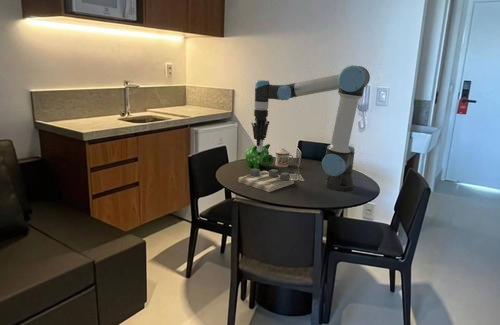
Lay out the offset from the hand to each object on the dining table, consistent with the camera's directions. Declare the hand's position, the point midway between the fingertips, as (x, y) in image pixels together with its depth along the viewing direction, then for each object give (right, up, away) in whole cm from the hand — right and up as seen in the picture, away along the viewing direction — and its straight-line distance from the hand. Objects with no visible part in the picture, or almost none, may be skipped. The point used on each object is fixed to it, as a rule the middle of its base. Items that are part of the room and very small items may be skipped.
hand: (259, 151), depth 207 cm
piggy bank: (0, -9, +29) cm, 30 cm away
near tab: (+14, -16, -4) cm, 21 cm away
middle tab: (+8, -14, +1) cm, 16 cm away
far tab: (-2, -13, +2) cm, 14 cm away
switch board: (+4, -18, -2) cm, 18 cm away
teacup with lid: (+17, -9, +35) cm, 40 cm away
